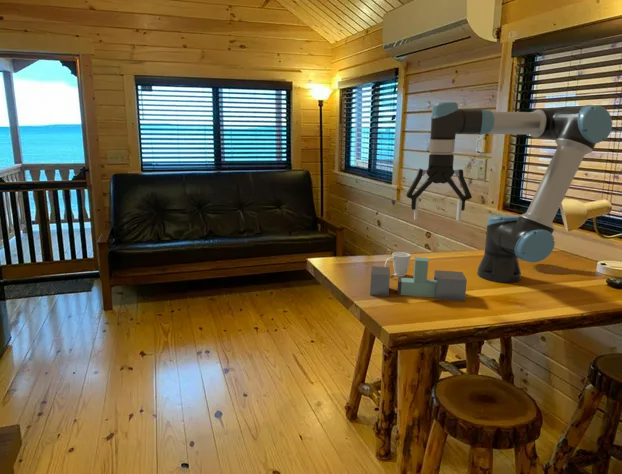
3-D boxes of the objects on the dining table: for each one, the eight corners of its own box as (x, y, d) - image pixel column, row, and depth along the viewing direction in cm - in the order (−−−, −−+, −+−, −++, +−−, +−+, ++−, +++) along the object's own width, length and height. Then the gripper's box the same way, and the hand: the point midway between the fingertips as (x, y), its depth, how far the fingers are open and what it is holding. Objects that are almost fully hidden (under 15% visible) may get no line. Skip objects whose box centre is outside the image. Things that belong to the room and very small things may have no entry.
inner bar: (461, 294, 157) (464, 259, 154) (463, 299, 152) (467, 263, 150) (397, 290, 160) (399, 256, 157) (397, 294, 155) (399, 259, 153)
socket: (388, 287, 162) (389, 267, 161) (388, 296, 154) (389, 275, 152) (370, 286, 163) (371, 266, 162) (370, 294, 155) (371, 274, 153)
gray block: (460, 292, 159) (462, 271, 157) (464, 301, 150) (466, 280, 149) (433, 290, 160) (434, 270, 158) (435, 299, 152) (437, 278, 150)
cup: (413, 277, 174) (414, 256, 172) (388, 279, 171) (390, 257, 169) (403, 271, 181) (405, 251, 179) (380, 273, 178) (381, 252, 176)
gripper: (478, 153, 150) (473, 218, 155) (399, 152, 152) (396, 217, 157) (485, 154, 143) (479, 223, 148) (402, 153, 145) (399, 221, 149)
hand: (436, 220), depth 152 cm, fingers open, 13 cm apart
